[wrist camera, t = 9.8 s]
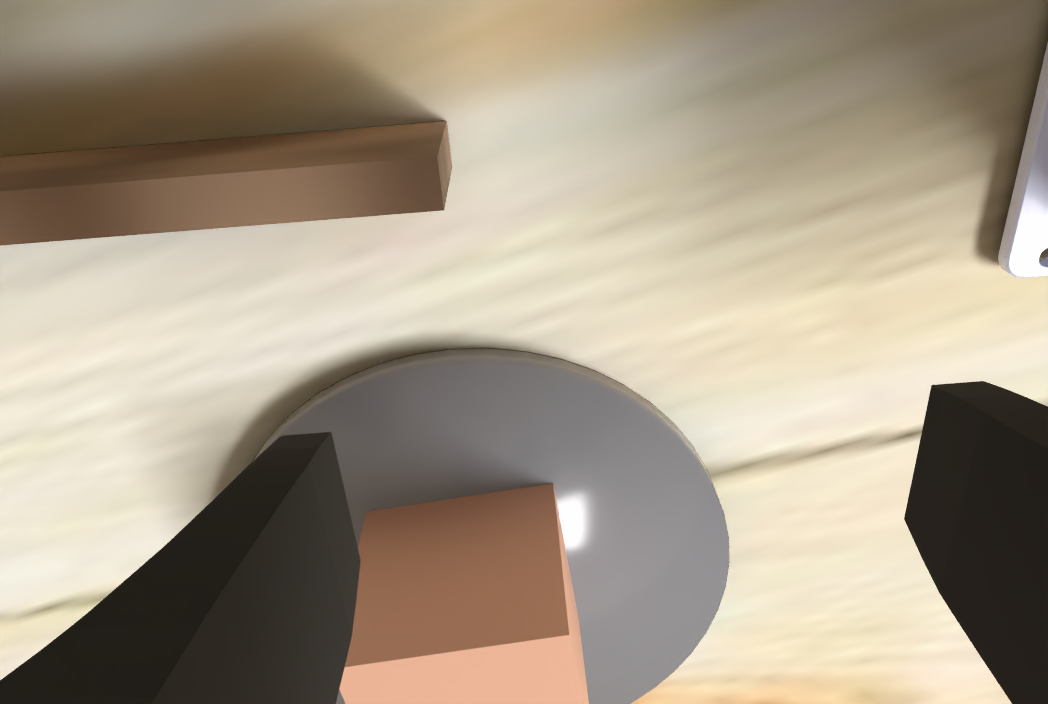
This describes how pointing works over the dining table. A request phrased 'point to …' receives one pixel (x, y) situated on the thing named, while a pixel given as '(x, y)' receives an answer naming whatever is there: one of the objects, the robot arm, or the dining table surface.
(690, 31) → the dining table surface
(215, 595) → the robot arm
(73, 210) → the walnut bay
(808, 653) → the dining table surface
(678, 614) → the charcoal plate
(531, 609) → the terracotta block
